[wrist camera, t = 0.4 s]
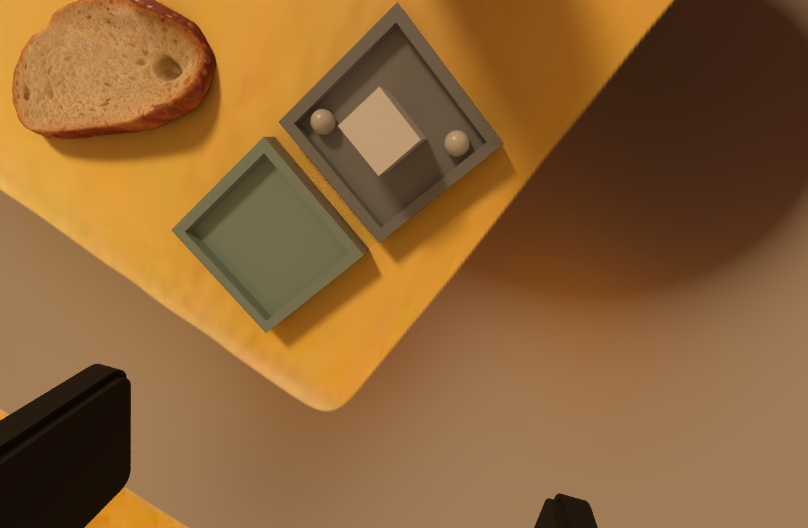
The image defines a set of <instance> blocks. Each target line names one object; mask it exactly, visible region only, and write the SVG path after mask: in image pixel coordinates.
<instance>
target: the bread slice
mask: <svg viewBox="0 0 808 528" xmlns="http://www.w3.org/2000/svg"><path fill="white" fill-rule="evenodd" d="M215 67H216V59H215V56H214V53H213V51H212V49H211V47H210V45H209V44H208V42H207V40H206V38H205V36H204V35H203V33H202V31H201V30H200V28H199V27H198V26H197V25H196V24H195V23H194V22H192V21H190V20H189V19H187V18H185V17H184V16H182V15H181V14H179V13H177V12H175V11H173V10H171V9H169V8H168V7H166V6H164V5H163V4H161V3H159V2H157V1H155V0H79V1H77V2H74V3H71V4H68V5H66V6H65V7H63V8H61V9H59V10H57V11H56V12H55V13H54V14H53V15H52V17H51V19H50V22H49V23H48V25H47V26H46V27H45V28H43V29H42V30H41V31H40V32H39V33H37V34H35V35H33V36H32V37H31V39H30V40H29V41H28V43H27V44H26V46H25V47H24V48H23V50H22V52H21V55H20V58H19V61H18V63H17V66H16V68H15V70H14V74H13V85H12V91H13V103H14V106H15V109H16V112H17V116H18V118H19V120H20V122H21V123H22V124H23V125H24V126H25V127H26V128H27V129H29V130H31V131H33V132H35V133H37V134H40V135H44V136H46V137H56V138H86V137H92V136H99V135H109V134H118V133H129V132H136V131H141V130H146V129H151V128H157V127H160V126H163V125H165V124H166V123H167V122H169V121H171V120H173V119H176V118H179V117H181V116H183V115H185V114H187V113H189V112H190V111H192V110H194V109H195V108H196V107H197V106H198V105H199V104H200V102H201V101H202V100H203V98H204V97H205V95H206V93H207V91H208V89H209V87H210V84H211V80H212V75H213V71H214V69H215Z"/></svg>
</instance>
